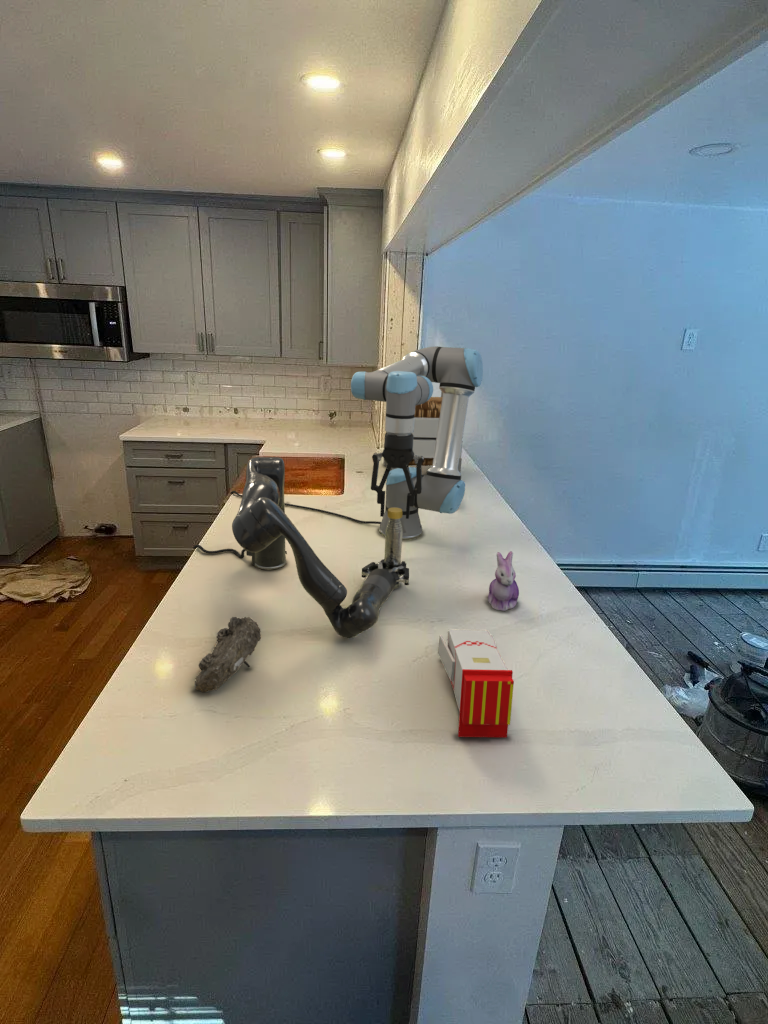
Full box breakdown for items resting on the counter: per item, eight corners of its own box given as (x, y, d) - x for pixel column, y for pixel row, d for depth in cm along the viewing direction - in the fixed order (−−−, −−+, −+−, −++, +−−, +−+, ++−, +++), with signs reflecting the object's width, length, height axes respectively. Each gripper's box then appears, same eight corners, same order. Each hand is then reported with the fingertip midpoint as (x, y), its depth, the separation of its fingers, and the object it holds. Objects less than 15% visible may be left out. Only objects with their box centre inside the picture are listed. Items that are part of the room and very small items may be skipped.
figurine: (500, 615, 149) (507, 563, 144) (477, 598, 157) (483, 548, 152) (528, 608, 153) (536, 557, 148) (504, 591, 161) (510, 543, 156)
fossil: (214, 619, 133) (260, 589, 128) (241, 647, 136) (288, 619, 131) (174, 686, 113) (226, 654, 108) (207, 716, 116) (260, 687, 111)
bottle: (399, 589, 160) (403, 515, 153) (382, 588, 160) (386, 514, 153) (399, 582, 165) (403, 509, 157) (383, 581, 165) (386, 508, 157)
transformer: (382, 463, 289) (386, 382, 275) (445, 464, 293) (451, 384, 279) (390, 482, 257) (394, 392, 243) (460, 483, 261) (468, 394, 247)
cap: (384, 516, 155) (384, 509, 155) (394, 513, 158) (395, 506, 157) (394, 520, 153) (395, 513, 152) (405, 517, 155) (405, 510, 155)
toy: (488, 613, 130) (523, 677, 101) (484, 667, 133) (517, 744, 104) (435, 612, 130) (455, 676, 101) (432, 666, 133) (451, 743, 103)
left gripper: (404, 580, 144) (419, 554, 160) (351, 570, 148) (371, 546, 164) (402, 606, 147) (418, 578, 162) (350, 596, 151) (370, 570, 166)
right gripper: (436, 432, 150) (430, 514, 158) (364, 427, 152) (362, 508, 160) (435, 438, 143) (429, 523, 151) (360, 433, 145) (357, 517, 153)
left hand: (394, 562), depth 163 cm, fingers closed on bottle, 4 cm apart
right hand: (394, 515), depth 155 cm, fingers open, 6 cm apart
